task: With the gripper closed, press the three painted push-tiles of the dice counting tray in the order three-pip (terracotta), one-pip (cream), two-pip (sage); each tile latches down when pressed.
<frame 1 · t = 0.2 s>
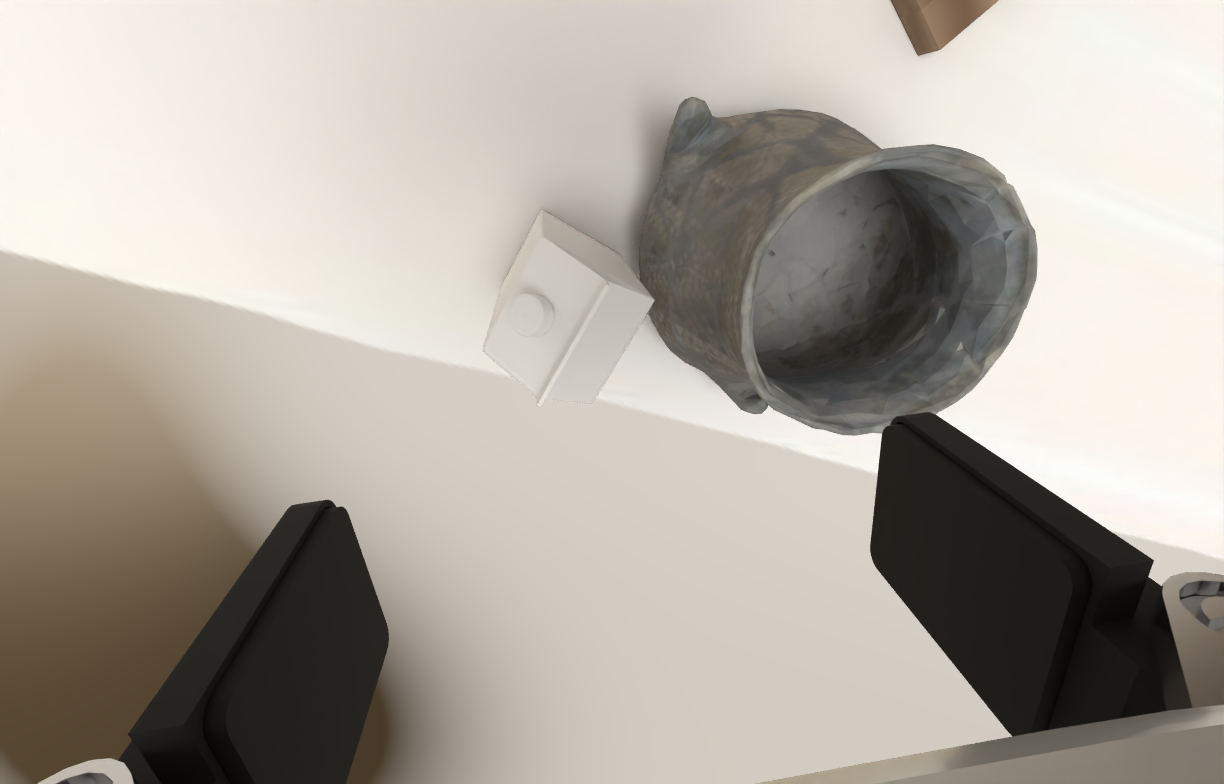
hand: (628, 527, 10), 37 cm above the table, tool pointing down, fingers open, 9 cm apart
milk carton: (560, 271, 45), on the table
vessel: (762, 241, 46), on the table
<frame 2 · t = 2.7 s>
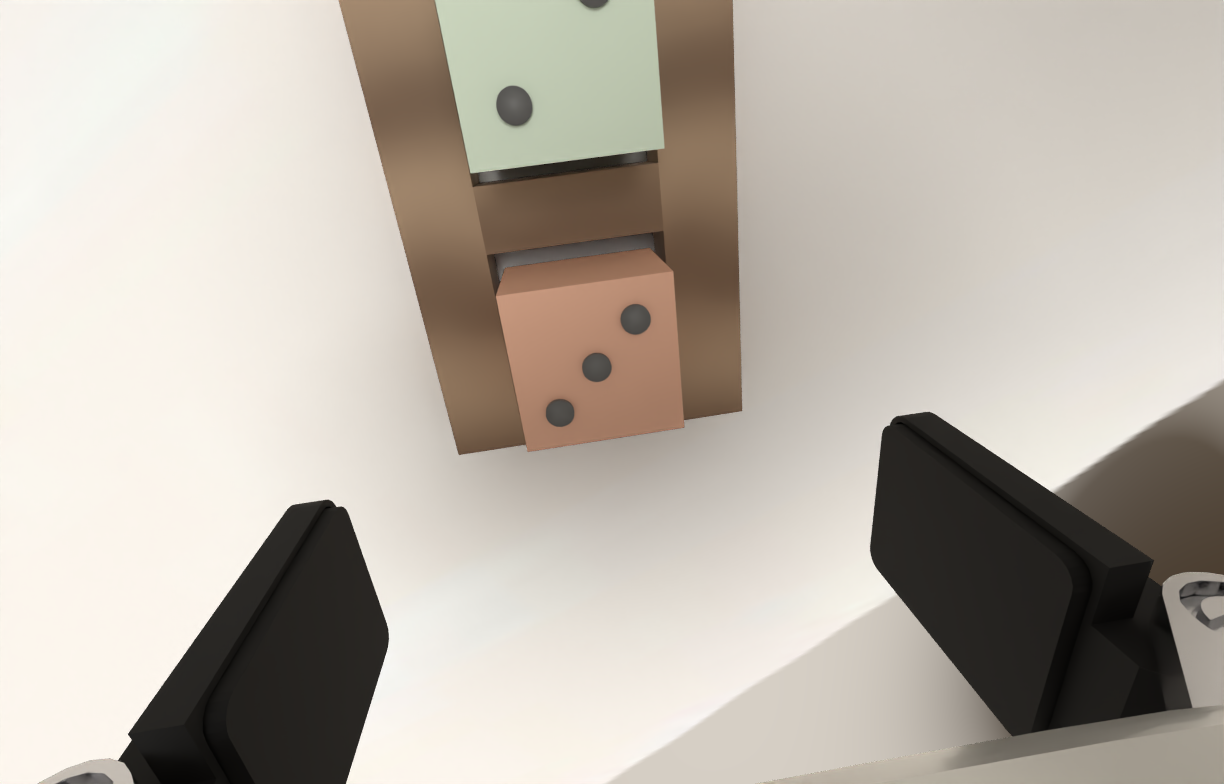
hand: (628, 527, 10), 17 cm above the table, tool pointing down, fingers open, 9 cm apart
tile three pip: (591, 345, 21), point 5 cm above the table, slide at 0.0 cm
tile two pip: (552, 58, 18), point 5 cm above the table, slide at 0.0 cm
dice counting tray: (550, 76, 22), on the table
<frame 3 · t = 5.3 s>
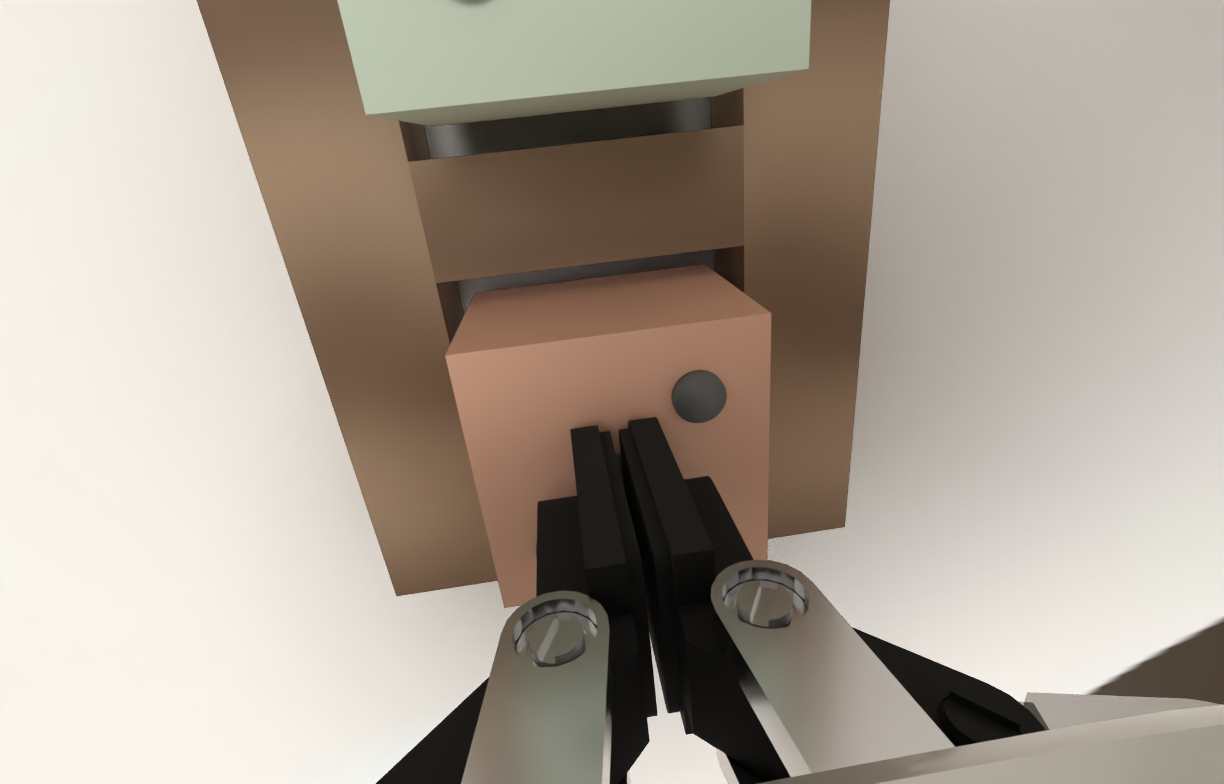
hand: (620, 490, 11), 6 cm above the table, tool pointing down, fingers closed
tile three pip: (613, 423, 13), point 4 cm above the table, slide at 1.2 cm, touching gripper
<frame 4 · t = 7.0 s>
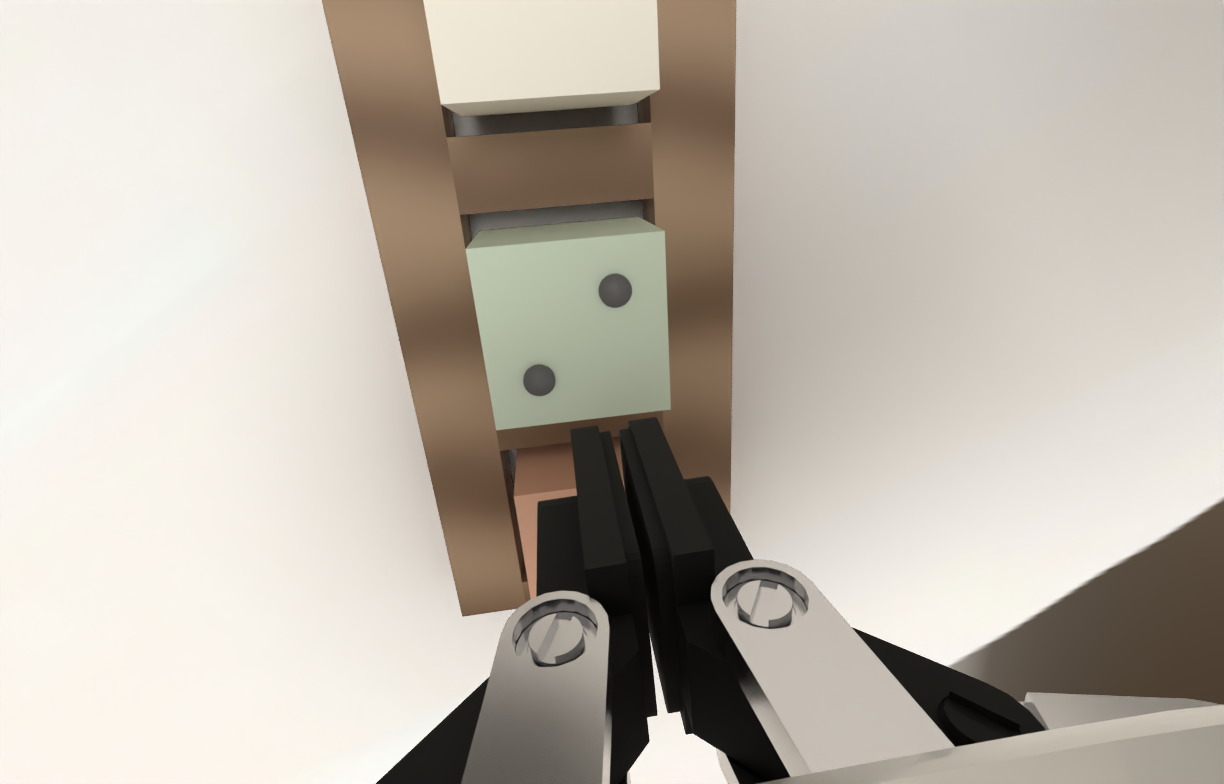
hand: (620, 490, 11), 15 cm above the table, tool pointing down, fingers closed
tile three pip: (590, 516, 25), point 3 cm above the table, slide at 1.8 cm
tile two pip: (571, 317, 19), point 5 cm above the table, slide at 0.0 cm
dice counting tray: (565, 288, 24), on the table
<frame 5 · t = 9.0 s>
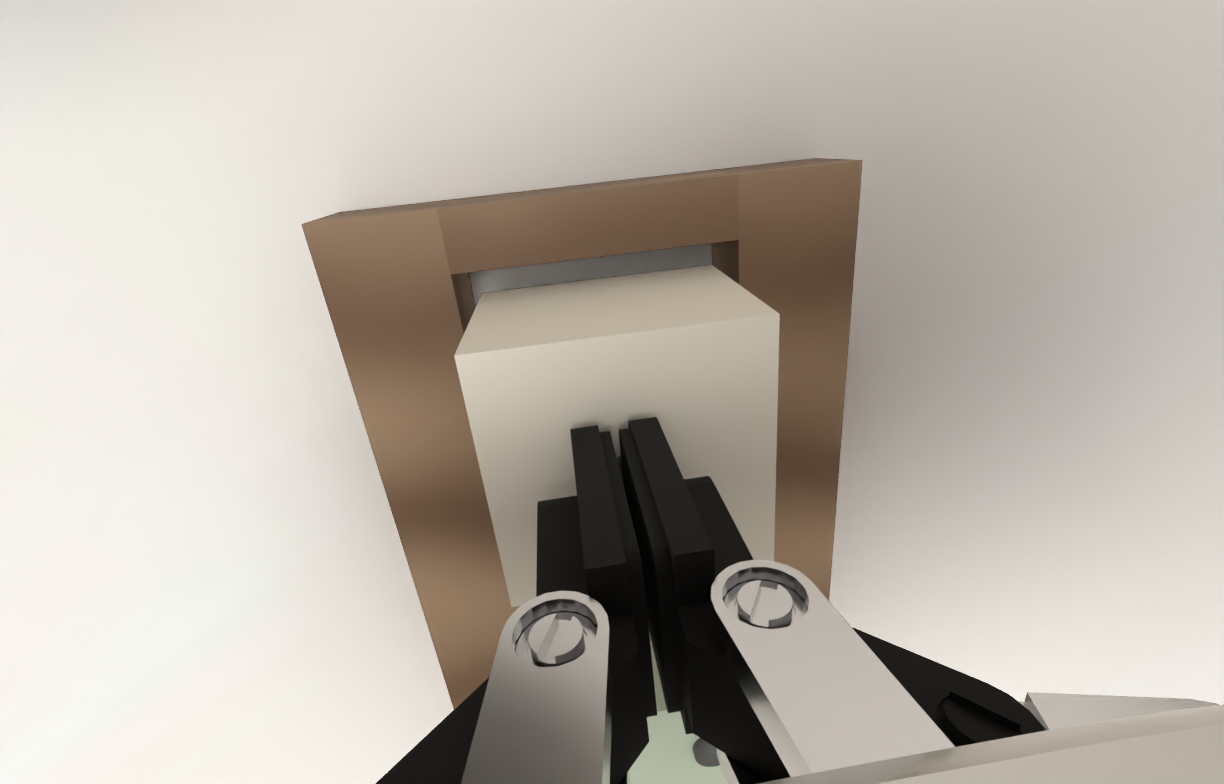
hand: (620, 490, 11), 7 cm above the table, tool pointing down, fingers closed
tile two pip: (650, 710, 17), point 5 cm above the table, slide at 0.0 cm
tile one pip: (620, 423, 13), point 5 cm above the table, slide at 0.2 cm, touching gripper
dice counting tray: (629, 593, 21), on the table
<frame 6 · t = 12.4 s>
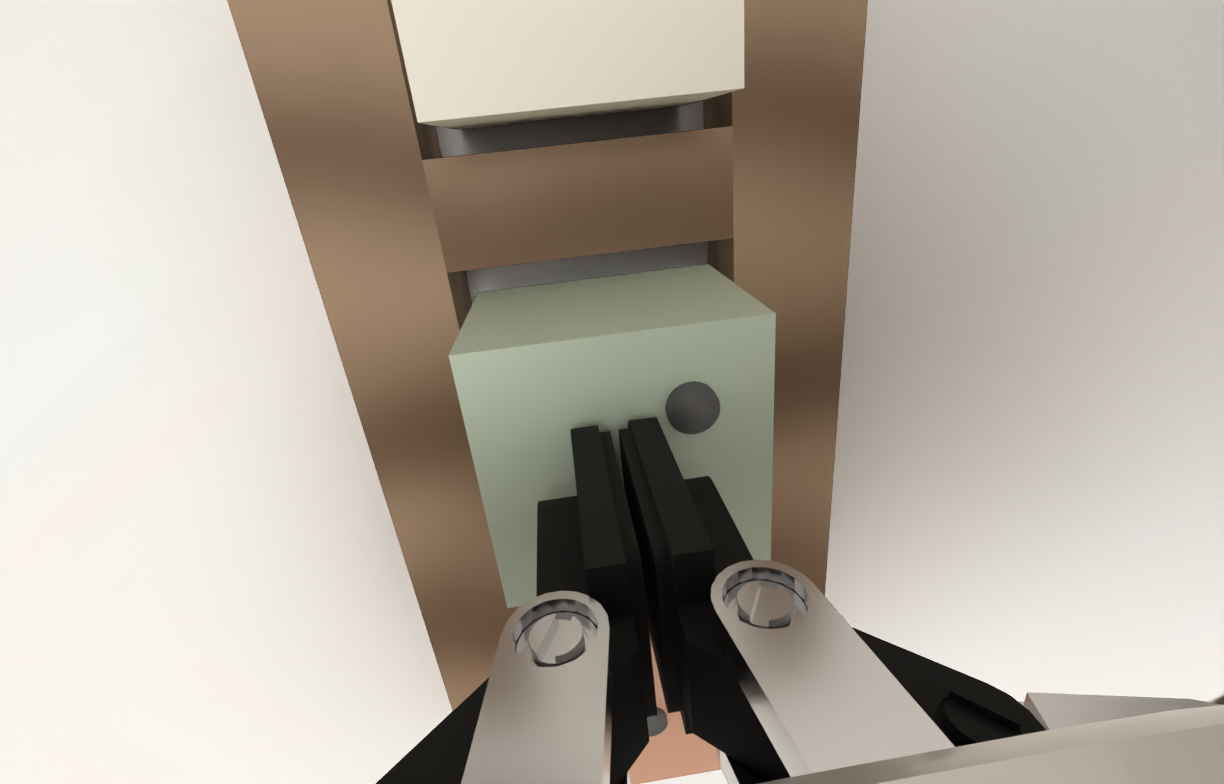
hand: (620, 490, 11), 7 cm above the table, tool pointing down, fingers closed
tile three pip: (638, 656, 18), point 3 cm above the table, slide at 1.8 cm
tile two pip: (616, 423, 13), point 5 cm above the table, slide at 0.1 cm, touching gripper
dice counting tray: (599, 355, 17), on the table
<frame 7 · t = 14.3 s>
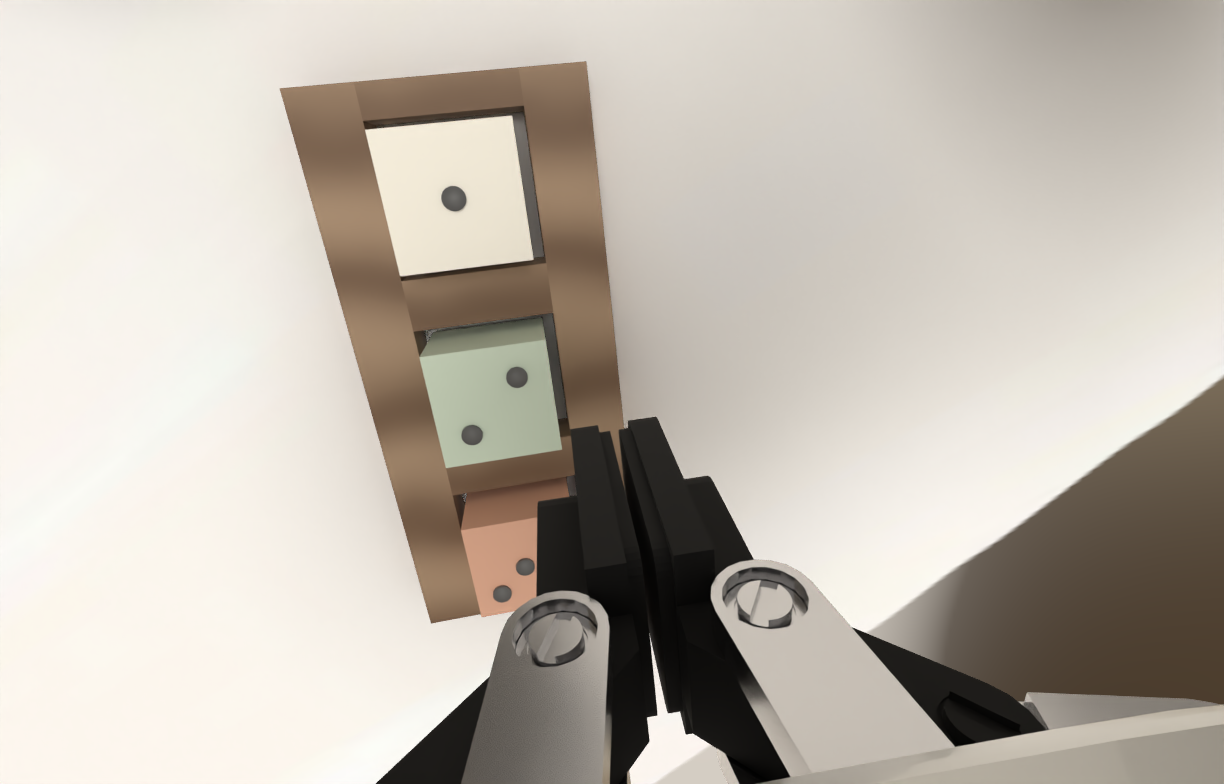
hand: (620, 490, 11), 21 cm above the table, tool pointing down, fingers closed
tile three pip: (525, 541, 33), point 3 cm above the table, slide at 1.8 cm
tile two pip: (496, 389, 29), point 3 cm above the table, slide at 1.8 cm
tile one pip: (459, 196, 26), point 3 cm above the table, slide at 1.8 cm
dice counting tray: (498, 371, 32), on the table
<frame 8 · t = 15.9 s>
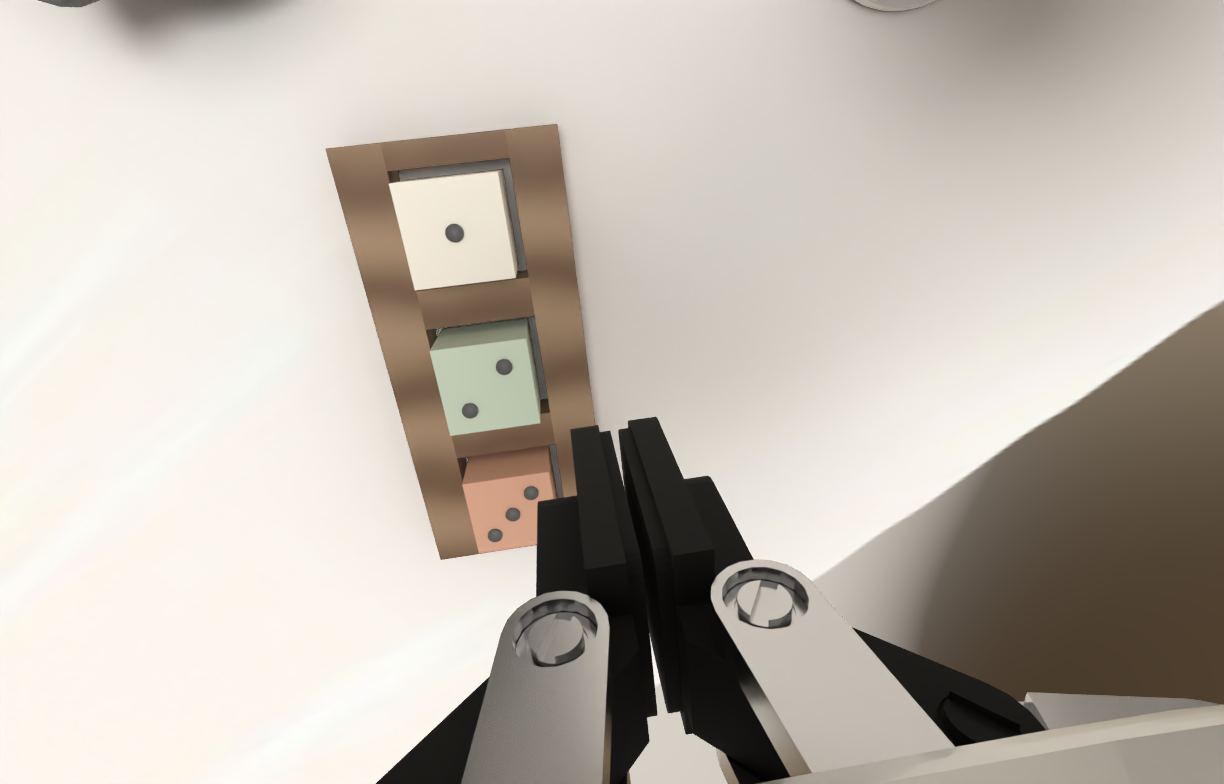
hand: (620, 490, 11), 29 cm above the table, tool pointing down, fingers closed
tile three pip: (514, 496, 41), point 3 cm above the table, slide at 1.8 cm
tile two pip: (490, 375, 37), point 3 cm above the table, slide at 1.8 cm
tile one pip: (460, 228, 33), point 3 cm above the table, slide at 1.8 cm
dice counting tray: (493, 360, 40), on the table
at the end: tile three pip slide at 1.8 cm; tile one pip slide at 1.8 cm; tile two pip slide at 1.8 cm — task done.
